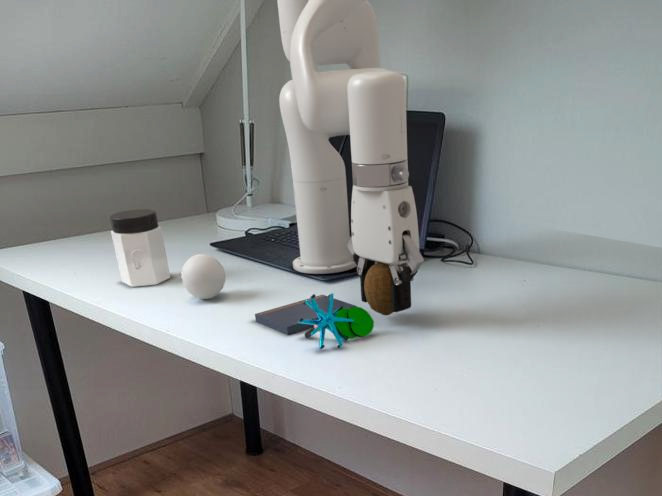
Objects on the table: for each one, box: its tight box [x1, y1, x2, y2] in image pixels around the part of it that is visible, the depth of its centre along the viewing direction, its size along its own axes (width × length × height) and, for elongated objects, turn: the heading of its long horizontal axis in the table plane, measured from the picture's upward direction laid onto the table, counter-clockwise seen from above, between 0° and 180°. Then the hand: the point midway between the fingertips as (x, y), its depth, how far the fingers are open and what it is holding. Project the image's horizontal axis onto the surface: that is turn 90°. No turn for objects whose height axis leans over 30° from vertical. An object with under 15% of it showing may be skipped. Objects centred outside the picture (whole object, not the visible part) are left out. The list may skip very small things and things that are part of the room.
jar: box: [109, 208, 171, 288], centre depth 137 cm, size 9×8×12 cm
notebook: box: [254, 294, 358, 335], centre depth 116 cm, size 13×9×1 cm
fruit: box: [364, 262, 403, 316], centre depth 109 cm, size 6×6×8 cm
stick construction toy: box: [298, 292, 375, 351], centre depth 106 cm, size 12×7×8 cm
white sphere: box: [171, 253, 226, 300], centre depth 127 cm, size 10×7×7 cm
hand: (385, 303), depth 111 cm, fingers closed on fruit, 6 cm apart
